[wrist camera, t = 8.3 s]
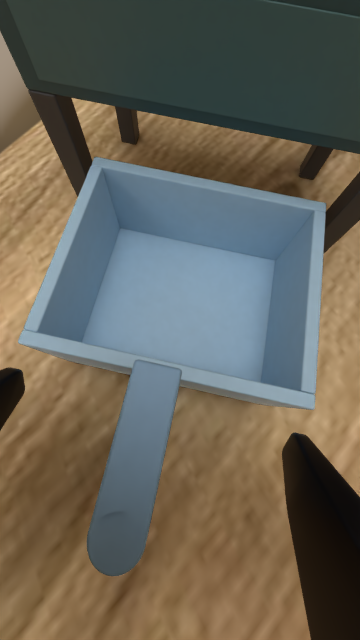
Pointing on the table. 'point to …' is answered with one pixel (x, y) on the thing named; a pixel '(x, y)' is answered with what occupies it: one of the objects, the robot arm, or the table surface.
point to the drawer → (178, 315)
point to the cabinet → (197, 72)
